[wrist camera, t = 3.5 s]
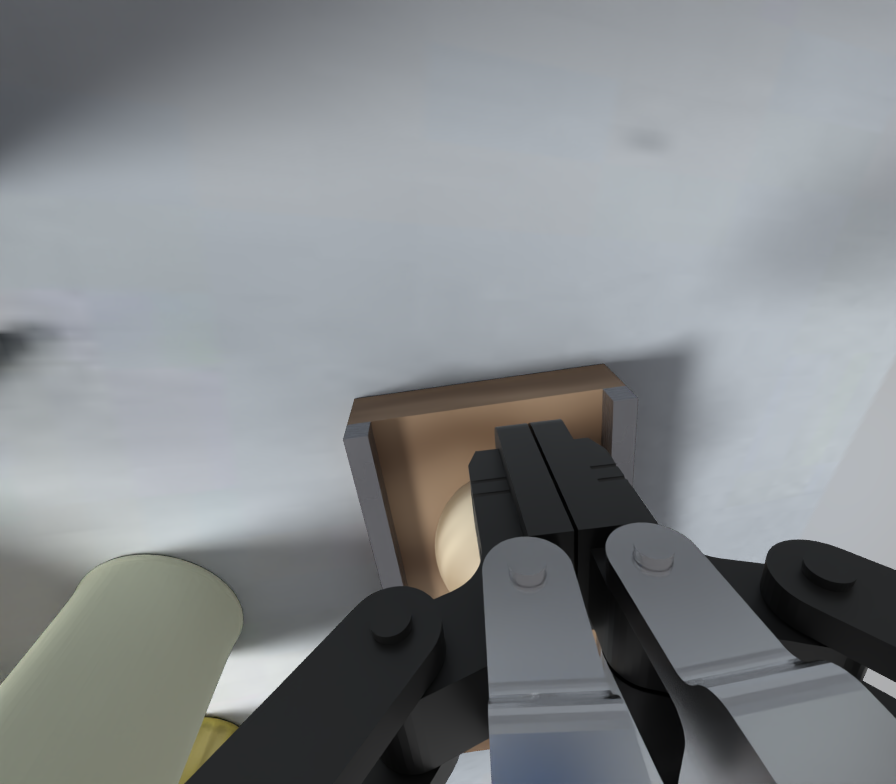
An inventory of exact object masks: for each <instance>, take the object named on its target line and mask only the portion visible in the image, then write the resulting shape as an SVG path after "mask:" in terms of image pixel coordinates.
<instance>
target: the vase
mask: <svg viewBox="0 0 896 784" xmlns="http://www.w3.org/2000/svg"><path fill="white" fill-rule="evenodd" d="M238 728H239V727H238V726H236V725H235V724H233V723H231V722H228V721H225V720H221V719H218V718H212V717H204V719H203V722H202V724H201V727H200V729H199V732H198V734H197V737H196V739H195V742H194V744H193V747H192V750H191V752H190V755H189V757H188V760H187V762H186V765H185V768H184V770H183V773H182V775H181V778H180V781H179V783H178V784H184V783H185V782H186V781H187V780H188V779H189V778H190V777H191V776H192V775H193V774H194V773H195V772H196V771H197V770H198V769H199V768H200V767H201V766H202V765H203V764H204V763H205V762H206V761H207V760H208V759H209V758H210V757H211V756H212V755H213V754H214V752H215V751H216V750H217V749H218V748H219V747H220V746H221V745H222V744H223V743H224V742H225V741H226V740H227V739H228V738H229V737H230V736H231V735H232V734H233V733H234V732H235V731H236V730H237V729H238Z"/></svg>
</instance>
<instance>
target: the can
mask: <svg viewBox="0 0 896 784" xmlns="http://www.w3.org/2000/svg"><path fill="white" fill-rule="evenodd" d="M242 627H243V612H242V608H241V605H240V602H239V601H238V599H237V597H236V595H235V594H234V593H233V591H232V590H231V589H230V588H229V587H228V586H227V585H226V584H225V583H224V582H223V581H222V580H221V579H220V578H218V577H217V576H216V575H214V574H212V573H211V572H209V571H207V570H206V569H204V568H202V567H200V566H198V565H195V564H193V563H190V562H187V561H184V560H181V559H177V558H173V557H167V556H161V555H130V556H124V557H119V558H116V559H113V560H110V561H107V562H105V563H103V564H101V565H99V566H97V567H95V568H94V569H93V570H91V571H90V572H89V573H88V574H87V575H86V576H85V577H84V578H83V579H82V580H81V581H80V583H79V585H78V586H77V588H76V590H75V592H74V594H73V595H72V597H71V598H70V599H69V601H68V602H67V603H66V604H65V606H64V607H63V608H62V610H61V611H60V612H59V613H58V615H57V616H56V617H55V618H54V620H53V621H52V622H51V623H50V625H49V626H48V627H47V628H46V630H45V631H44V632H43V633H42V635H41V636H40V637H39V638H38V639H37V641H36V642H35V643H34V644H33V646H32V647H31V648H30V649H29V651H28V652H27V653H26V654H25V656H24V657H23V658H22V659H21V660H20V662H19V663H18V664H17V665H16V667H15V668H14V669H13V670H12V672H11V673H10V674H9V675H8V676H7V678H6V679H5V680H4V681H3V682H2V684H1V685H0V784H178V783H179V781H180V778H181V775H182V773H183V770H184V768H185V765H186V762H187V760H188V757H189V755H190V752H191V750H192V747H193V744H194V742H195V739H196V737H197V734H198V732H199V729H200V727H201V724H202V722H203V719H204V716H205V714H206V711H207V709H208V706H209V704H210V701H211V699H212V696H213V694H214V691H215V689H216V686H217V684H218V681H219V679H220V676H221V674H222V671H223V669H224V666H225V664H226V661H227V659H228V657H229V655H230V652H231V650H232V648H233V646H234V644H235V643H236V641H237V640H238V638H239V636H240V634H241V630H242Z"/></svg>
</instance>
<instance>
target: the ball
mask: <svg viewBox="0 0 896 784" xmlns="http://www.w3.org/2000/svg"><path fill="white" fill-rule="evenodd" d="M435 554H436V561H437V565H438V568H439V572H440V575H441V577H442V579H443V581H444V583H445V585H446V587H447V589H448V590H449V592H451V591H453V590H455V589H457V588H459V587H460V586H462V585H463V584H465V583H466V582H467V581H468V580H469V579H470V578H471V577H472V576H473V575H474V574H475V572H476V570H477V569H478V567H479V564H480V556H479V549H478V542H477V536H476V529H475V523H474V515H473V506H472V497H471V488H470V481H469V482H467V483H466V484H465V485H463V486H462V487H461V488H460V489H458V490H457V491H456V492H455V493H454V495H453V496H452V497H451V498H450V500H449V501H448V502H447V504H446V506H445V507H444V509H443V512H442V514H441V516H440V518H439V522H438V526H437V530H436V536H435Z"/></svg>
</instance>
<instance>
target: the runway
mask: <svg viewBox="0 0 896 784" xmlns="http://www.w3.org/2000/svg"><path fill="white" fill-rule="evenodd" d="M637 408H638V397H637V396H636V395H635V394H634V393H633V392H632V391H631V390H630V389H629V388H628V387H627V386H626V385H625V384H624V383H623V382H622V381H621V380H620V379H619V378H618V377H617V376H616V375H615V374H614V373H613V372H612V371H611V370H610V369H609V368H608V367H607V366H606V365H605V364H599V365H592V366H585V367H578V368H571V369H563V370H556V371H549V372H542V373H535V374H528V375H521V376H514V377H507V378H500V379H492V380H485V381H478V382H471V383H464V384H457V385H450V386H443V387H436V388H428V389H421V390H414V391H407V392H400V393H393V394H386V395H379V396H372V397H364V398H357V399H354V402H353V406H352V409H351V413H350V417H349V420H348V424H347V427H346V431H345V434H344V438H343V441H344V445H345V449H346V452H347V456H348V460H349V464H350V468H351V471H352V475H353V479H354V483H355V486H356V490H357V494H358V498H359V502H360V505H361V509H362V513H363V517H364V520H365V524H366V528H367V532H368V536H369V539H370V543H371V547H372V551H373V554H374V558H375V562H376V566H377V570H378V573H379V577H380V581H381V585H382V588H383V589H385V588H389V587H395V586H409V587H413V588H417V589H419V590H422V591H424V592H425V593H427V594H428V595H430V596H431V597H432V598H433V599H435V598H438V597H440V596H442V595H445V594H447V593H449V590H448V589H447V587H446V585H445V583H444V581H443V579H442V577H441V575H440V572H439V568H438V565H437V561H436V554H435V536H436V530H437V526H438V522H439V518H440V516H441V514H442V512H443V509H444V507H445V506H446V504H447V502H448V501H449V500H450V498H451V497H452V496H453V495H454V493H455V492H456V491H457V490H458V489H460V488H461V487H462V486H463V485H465V484H466V483H467V482H469V481H470V478H469V469H468V465H469V463H470V461H471V459H472V457H473V455H474V453H475V451H483V450H491V449H496V447H495V427H499V426H508V425H516V424H524V423H527V424H528V423H531V422H540V421H548V420H556V419H561V420H562V421H563V422H564V424H565V425H566V427H567V429H568V431H569V432H570V434H571V436H572V437H573V439H580V438H589V439H591V440H593V441H594V442H596V443H597V444H599V445H601V446H602V447H604V448H605V449H606V450H607V451H608V453H609V454H610V456H611V457H612V458H613V460H614V461H615V463H616V466H618V467H619V469H620V470H621V471H622V473H623V474H624V477H625V479H627V480H628V482H629V483H630V484H631V486H632V487H633V471H634V455H635V440H636V424H637ZM592 632H593V636H594V639H595V642H596V646H597V649H598V653H599V656H601V645H600V643H599V640H598V638H597V635H596V632H595V630H592ZM487 749H490V741H489V739H487V740H485V741H483V742H482V743H480V744H478V745H476V746H474V747H473V748H471V749H469V750H467V751H465V752H464V753H466V752H473V751H480V750H487Z"/></svg>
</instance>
